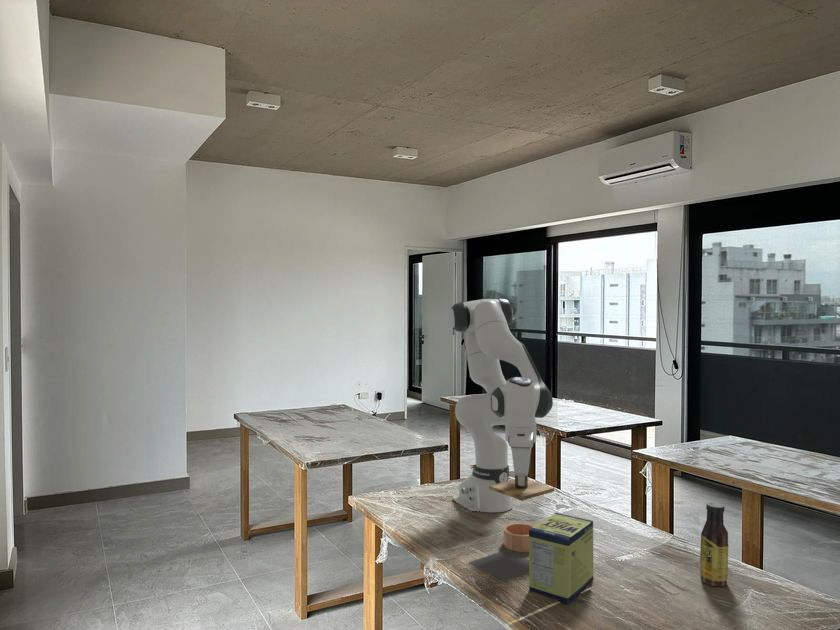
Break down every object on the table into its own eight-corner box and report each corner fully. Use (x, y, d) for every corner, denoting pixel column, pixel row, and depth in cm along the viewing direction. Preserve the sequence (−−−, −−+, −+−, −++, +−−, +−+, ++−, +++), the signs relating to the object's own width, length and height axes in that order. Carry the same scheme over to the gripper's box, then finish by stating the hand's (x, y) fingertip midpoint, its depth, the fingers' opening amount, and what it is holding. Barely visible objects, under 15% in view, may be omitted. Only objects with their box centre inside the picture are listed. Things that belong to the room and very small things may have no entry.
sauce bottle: (695, 576, 156) (695, 499, 156) (720, 576, 156) (720, 499, 156) (707, 588, 150) (707, 508, 149) (733, 588, 150) (733, 508, 149)
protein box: (594, 581, 154) (594, 519, 154) (568, 605, 142) (568, 539, 142) (555, 570, 161) (555, 511, 161) (528, 592, 149) (527, 529, 148)
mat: (468, 564, 165) (468, 562, 165) (506, 551, 173) (506, 549, 173) (505, 583, 153) (505, 581, 153) (543, 568, 162) (543, 566, 162)
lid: (489, 489, 177) (489, 472, 177) (521, 481, 185) (521, 464, 185) (521, 500, 167) (521, 482, 167) (554, 491, 175) (553, 474, 174)
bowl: (496, 545, 178) (496, 528, 177) (521, 537, 183) (521, 520, 183) (521, 556, 169) (521, 538, 169) (546, 547, 175) (546, 530, 175)
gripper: (510, 427, 186) (510, 472, 187) (509, 442, 166) (509, 492, 167) (531, 427, 185) (531, 472, 186) (532, 442, 165) (533, 493, 166)
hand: (521, 482), depth 176 cm, fingers closed on lid, 4 cm apart
